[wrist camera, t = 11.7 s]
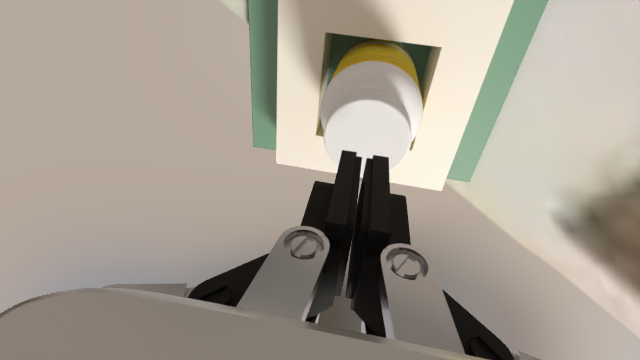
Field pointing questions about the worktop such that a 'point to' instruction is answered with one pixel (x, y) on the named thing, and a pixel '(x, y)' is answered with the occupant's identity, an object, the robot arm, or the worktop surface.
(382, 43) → the supplement bottle
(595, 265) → the worktop surface
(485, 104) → the board
